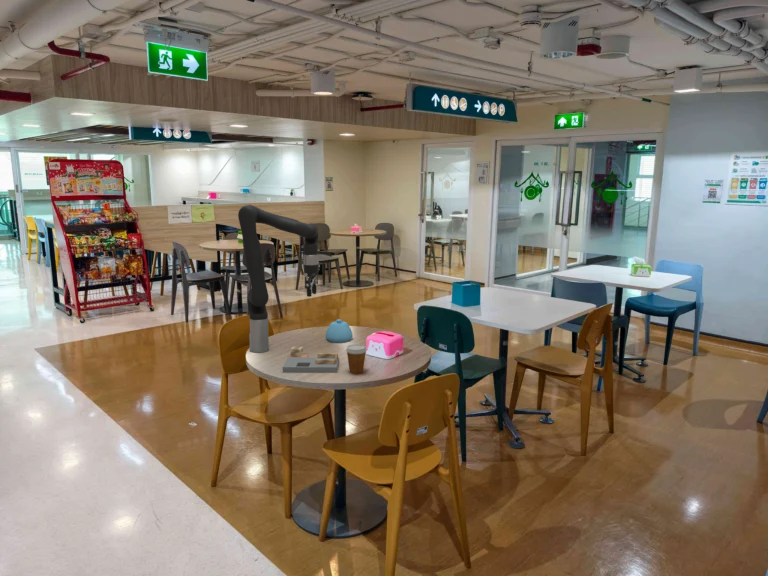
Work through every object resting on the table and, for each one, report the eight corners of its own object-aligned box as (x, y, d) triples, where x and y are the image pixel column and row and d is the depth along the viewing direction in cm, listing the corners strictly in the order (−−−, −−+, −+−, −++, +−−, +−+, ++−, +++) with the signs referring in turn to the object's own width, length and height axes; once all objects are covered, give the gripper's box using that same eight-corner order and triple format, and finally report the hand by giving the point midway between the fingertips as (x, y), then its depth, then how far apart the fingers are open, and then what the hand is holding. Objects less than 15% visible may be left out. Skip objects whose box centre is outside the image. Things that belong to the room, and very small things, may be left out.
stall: (315, 364, 264) (315, 360, 264) (317, 357, 275) (317, 353, 274) (336, 364, 264) (336, 360, 264) (338, 357, 275) (338, 353, 274)
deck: (282, 372, 260) (282, 367, 260) (288, 362, 275) (287, 357, 274) (336, 372, 260) (336, 367, 260) (339, 362, 275) (339, 357, 275)
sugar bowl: (324, 343, 308) (323, 322, 306) (327, 336, 323) (327, 316, 321) (351, 343, 308) (351, 323, 306) (353, 336, 322) (353, 316, 320)
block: (290, 356, 280) (290, 349, 279) (293, 353, 284) (293, 346, 284) (300, 357, 279) (300, 349, 278) (303, 354, 284) (303, 346, 283)
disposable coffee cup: (347, 368, 266) (347, 343, 264) (367, 369, 266) (367, 344, 263) (344, 374, 257) (344, 349, 255) (365, 375, 256) (365, 350, 254)
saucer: (286, 360, 277) (286, 358, 277) (289, 354, 287) (289, 352, 286) (307, 361, 277) (306, 358, 277) (309, 355, 287) (309, 352, 287)
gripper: (314, 265, 276) (314, 297, 279) (322, 261, 290) (322, 292, 293) (299, 265, 278) (300, 297, 281) (308, 261, 292) (309, 292, 295)
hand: (311, 294), depth 287 cm, fingers open, 8 cm apart
